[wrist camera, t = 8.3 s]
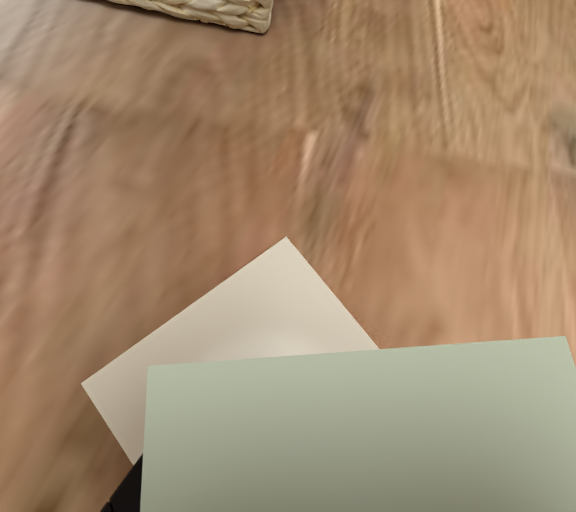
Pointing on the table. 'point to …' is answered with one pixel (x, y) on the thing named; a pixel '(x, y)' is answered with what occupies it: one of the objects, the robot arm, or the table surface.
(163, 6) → the storage basket
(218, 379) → the block
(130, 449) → the tile
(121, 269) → the table surface
